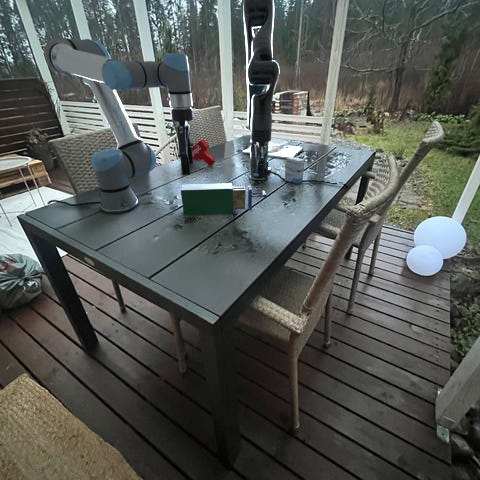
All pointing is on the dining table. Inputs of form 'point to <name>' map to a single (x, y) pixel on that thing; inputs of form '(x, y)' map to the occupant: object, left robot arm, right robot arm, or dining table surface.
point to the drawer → (244, 197)
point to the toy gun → (202, 152)
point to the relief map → (280, 150)
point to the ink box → (294, 170)
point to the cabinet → (207, 198)
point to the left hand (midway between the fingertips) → (188, 168)
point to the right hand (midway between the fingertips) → (259, 173)
